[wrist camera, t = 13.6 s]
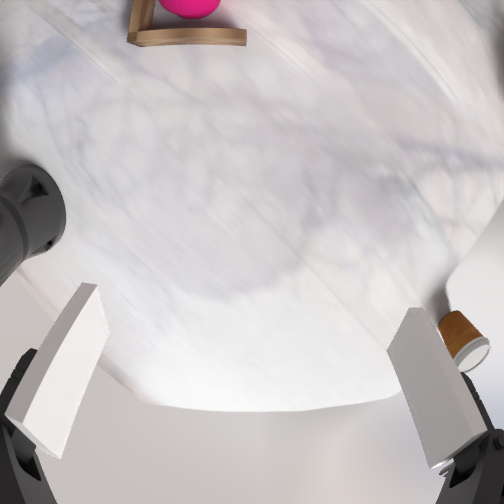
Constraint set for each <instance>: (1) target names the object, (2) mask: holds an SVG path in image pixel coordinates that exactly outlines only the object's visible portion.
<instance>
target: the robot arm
mask: <svg viewBox="0 0 504 504" xmlns="http://www.w3.org/2000/svg"><path fill="white" fill-rule="evenodd" d="M65 225H66V211H65V205H64V201H63V198H62V195H61V193H60V191H59V189H58V187H57V185H56V183H55V182H54V181H53V179H52V178H51V177H50V176H49V175H48V174H47V173H46V172H45V171H44V170H42V169H40V168H38V167H36V166H32V165H25V166H21V167H19V168H17V169H15V170H13V171H11V172H10V173H9V174H8V175H7V176H6V177H5V178H4V179H3V180H2V181H1V183H0V286H1V285H2V284H3V283H4V282H5V281H6V279H7V278H8V277H9V276H10V275H11V274H12V273H13V272H14V271H15V269H16V268H17V267H18V266H19V265H20V264H21V263H22V262H23V261H24V260H26V259H28V258H31V257H34V256H36V255H39V254H42V253H45V252H47V251H48V250H50V249H51V248H52V247H53V246H54V245H55V244H56V243H57V242H58V241H59V240H60V239H61V237H62V235H63V233H64V229H65ZM109 335H110V330H109V327H108V323H107V320H106V316H105V312H104V309H103V305H102V301H101V297H100V293H99V289H98V285H95V284H88V283H82V284H81V285H80V287H79V288H78V289H77V291H76V292H75V294H74V295H73V297H72V298H71V299H70V301H69V302H68V304H67V305H66V307H65V308H64V310H63V311H62V313H61V314H60V316H59V317H58V319H57V320H56V322H55V324H54V325H53V327H52V328H51V330H50V331H49V333H48V335H47V336H46V338H45V340H44V341H43V343H42V345H41V346H40V348H39V350H36V349H32V348H31V349H29V350H28V351H27V352H26V353H25V354H24V355H23V356H22V357H21V358H20V360H19V362H18V363H17V365H16V367H15V369H14V370H13V372H12V374H11V378H9V379H8V381H7V383H6V385H5V387H4V389H3V390H2V393H1V395H0V504H57V502H56V500H55V498H54V496H53V494H52V491H51V489H50V487H49V484H48V482H47V480H46V477H45V475H44V472H43V470H42V467H41V465H40V462H39V459H38V456H37V454H36V452H35V448H36V446H37V447H38V448H39V449H40V450H42V451H43V452H44V453H46V454H49V455H51V456H53V457H55V458H58V459H61V457H62V454H63V451H64V448H65V444H66V442H67V438H68V436H69V433H70V430H71V427H72V424H73V422H74V419H75V416H76V413H77V411H78V408H79V405H80V402H81V400H82V398H83V395H84V393H85V390H86V388H87V385H88V382H89V380H90V378H91V375H92V373H93V371H94V368H95V366H96V364H97V361H98V359H99V357H100V355H101V352H102V350H103V348H104V346H105V343H106V341H107V339H108V337H109ZM387 352H388V355H389V357H390V360H391V362H392V364H393V367H394V369H395V372H396V374H397V377H398V379H399V382H400V384H401V387H402V390H403V392H404V395H405V398H406V400H407V403H408V406H409V408H410V411H411V414H412V417H413V420H414V422H415V425H416V428H417V431H418V434H419V437H420V440H421V443H422V446H423V449H424V453H425V456H426V459H427V463H428V466H429V469H432V468H435V467H438V466H440V465H443V464H444V463H446V462H448V461H449V460H450V459H452V458H453V459H454V462H453V463H451V464H450V465H448V466H447V467H445V468H444V469H443V470H442V471H441V472H440V473H439V475H442V474H444V473H445V472H447V471H448V470H449V471H448V473H447V474H445V475H444V477H446V479H445V482H444V484H443V487H442V490H441V492H440V495H439V497H438V499H437V502H436V504H504V431H503V430H502V429H495V428H494V426H493V425H492V422H491V420H490V418H489V416H488V414H487V412H486V409H485V407H484V405H483V403H482V401H481V400H480V399H479V395H478V393H477V392H476V389H475V387H474V385H473V383H472V381H471V379H470V378H469V377H468V376H467V375H466V374H465V373H464V372H460V371H459V369H458V368H457V366H456V364H455V362H454V360H453V358H452V357H451V355H450V353H449V351H448V350H447V348H446V346H445V344H444V343H443V341H442V339H441V337H440V336H439V334H438V332H437V331H436V329H435V327H434V326H433V324H432V322H431V321H430V319H429V318H428V316H427V314H426V313H425V311H424V310H423V308H409V309H408V311H407V314H406V316H405V318H404V319H403V321H402V323H401V325H400V327H399V329H398V331H397V333H396V335H395V337H394V339H393V340H392V342H391V344H390V346H389V348H388V349H387Z"/></svg>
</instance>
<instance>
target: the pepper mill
mask: <svg viewBox="0 0 504 504" xmlns="http://www.w3.org/2000/svg"><path fill="white" fill-rule="evenodd" d="M220 1H221V0H159V2H160V3H161V5H162V6H163V7H164V8H165V9H166V10H167V11H169V12H171V13H174V14H177V15H178V16H180V17H182V18H184V19H200V18H203V17H206V16H208V15H209V14H211V13H212V12H213V11H215V10H216V8H217V7H218V6H219V3H220Z"/></svg>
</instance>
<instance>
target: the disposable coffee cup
mask: <svg viewBox="0 0 504 504" xmlns="http://www.w3.org/2000/svg"><path fill="white" fill-rule="evenodd" d="M439 330H440V333H441V335H442V337H443V340H444V343H445V345H446V347H447V350H448V351H449V353H450V355H451V357H452V358H453V360H454V362H455V364H456V366H457V368H458V369H459V371H460V372H464V373H465V374H466V373H468V372H470V371H472V370H474V369H475V368H476V367H478V366H479V365H480V364H481V363H482V362H483V361H484V360H485V359H486V357H487V356H488V354H489V352H490V348H491V347H490V343H489V340H488V339H487V338H486V337H484V336H483V335H482V334H481V333H480V332H479V331H478V330H477V329H476V328H475V327H474V326H473V325H472V324H471V322H469V320H468V319H467V318H466V317H464V315H463V314H462V313H461V312H460V311H457V310H456V311H452V312H450V313H449V314H447V315H446V316H445V317H444V318H443V319H442V321H441V322H440V324H439Z"/></svg>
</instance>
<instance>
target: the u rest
mask: <svg viewBox="0 0 504 504" xmlns="http://www.w3.org/2000/svg"><path fill="white" fill-rule="evenodd" d="M155 1H156V0H133V4H132V10H131V16H130V23H129V30H128V37H127V42H128V43H131V44H134V45H136V46H139V47H146V46H160V45H182V44H214V45H237V46H246V41H247V30H246V29H229V28H177V29H160V30H151V26H152V19H153V13H154V7H155Z"/></svg>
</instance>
